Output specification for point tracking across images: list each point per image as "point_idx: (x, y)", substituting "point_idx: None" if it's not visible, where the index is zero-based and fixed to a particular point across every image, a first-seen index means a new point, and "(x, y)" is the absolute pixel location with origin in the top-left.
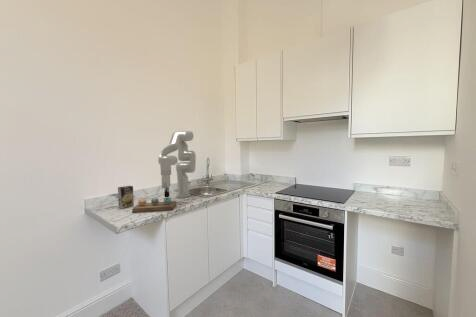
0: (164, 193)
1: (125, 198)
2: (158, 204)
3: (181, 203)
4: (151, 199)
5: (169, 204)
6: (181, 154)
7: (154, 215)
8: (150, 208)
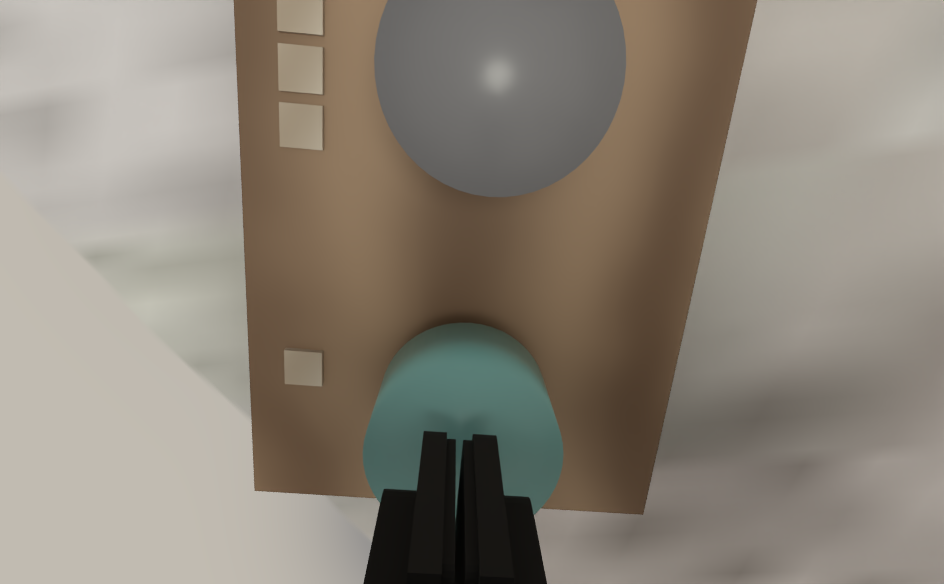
0: (414, 520)
1: None
2: None
3: (680, 544)
4: None
5: None
6: None
7: (33, 147)
8: (240, 4)
